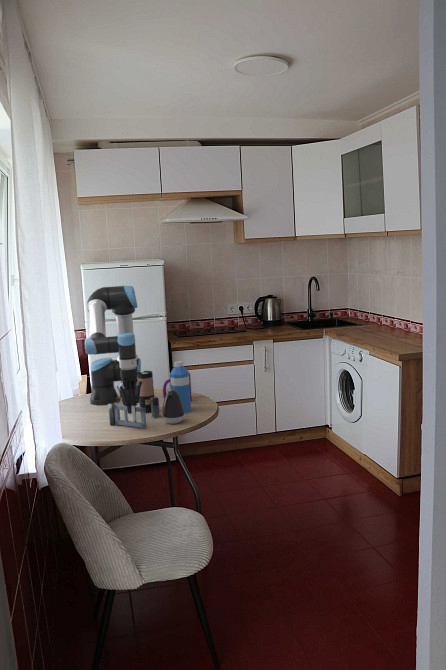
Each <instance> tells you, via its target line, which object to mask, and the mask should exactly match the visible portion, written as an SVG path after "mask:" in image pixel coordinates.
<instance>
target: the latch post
mask: <svg viewBox="0 0 446 670" xmlns="http://www.w3.org/2000/svg"><path fill="white" fill-rule="evenodd" d="M159 399H160V398H159V397H158V396H154V397H150V400H145V401H146V405H147V404H151V413H150V414H151V418H153V419H158V418H160V403H159Z"/></svg>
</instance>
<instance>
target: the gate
mask: <svg viewBox="0 0 446 670" xmlns="http://www.w3.org/2000/svg"><path fill="white" fill-rule="evenodd" d="M114 405H115V406H114V408H115V421H116V425H118V426H119V425H120V426H121V425H122V426H128V427H137V428H142V429H143V428H144V429H146V428H147V427H148V426H147V415H146V414H147V413H146V410H145V408H141V407H140V406H139V407H138V406H136V412H135V419H136V420H135V421H131V420H129V414H128V412H127V406H124V405H123V404H114ZM121 410H122V411H123V413H124V414H123V415H124V416H123V417H124V420H123V419H121ZM137 412H139V413H140V421H139V422H138V420H137Z"/></svg>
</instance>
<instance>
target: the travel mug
mask: <svg viewBox="0 0 446 670" xmlns="http://www.w3.org/2000/svg"><path fill="white" fill-rule="evenodd" d="M137 374H138V375H137V377H138V381H142V385H141V388H140V397H139V403H138V404H139V407H141V408H145V410H146V414H151V404H147V405H146V401H145V400H150V397H155V389H154V388H155V387H154V377H153V376H154V375H153V371H152V370H143V371H141V373H140V372H138V373H137Z"/></svg>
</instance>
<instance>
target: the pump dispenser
mask: <svg viewBox="0 0 446 670" xmlns="http://www.w3.org/2000/svg"><path fill="white" fill-rule="evenodd" d="M162 417H163V419H164V421H165V422H166V423H167V424H169V425H170V424H171V425H176V424H179V423H181V422H182V421H183V419H184V417H185V412H184V407H183V403H182V400H181V398H180V396H179V394H178V393H177V392H176V391H174V390H171V389H170V390H169V391H168V392H166V396H165V399H164V400H163V405H162Z"/></svg>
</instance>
